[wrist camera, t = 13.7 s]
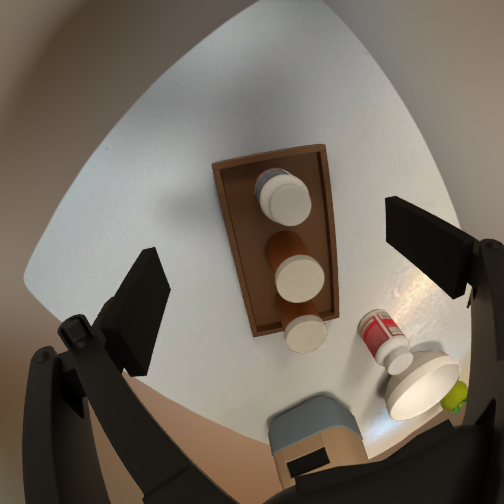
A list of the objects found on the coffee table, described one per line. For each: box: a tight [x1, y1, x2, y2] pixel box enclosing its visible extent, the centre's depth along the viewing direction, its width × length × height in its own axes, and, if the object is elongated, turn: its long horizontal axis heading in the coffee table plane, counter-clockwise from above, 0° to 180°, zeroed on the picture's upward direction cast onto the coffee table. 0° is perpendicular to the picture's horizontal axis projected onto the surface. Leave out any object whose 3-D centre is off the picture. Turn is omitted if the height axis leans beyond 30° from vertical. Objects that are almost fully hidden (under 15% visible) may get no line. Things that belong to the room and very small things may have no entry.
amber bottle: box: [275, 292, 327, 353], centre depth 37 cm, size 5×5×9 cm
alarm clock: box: [268, 396, 369, 490], centre depth 45 cm, size 17×17×23 cm
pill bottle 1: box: [254, 168, 311, 226], centre depth 30 cm, size 5×5×9 cm
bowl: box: [385, 350, 460, 421], centre depth 49 cm, size 19×19×9 cm
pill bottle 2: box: [359, 310, 413, 375], centre depth 40 cm, size 6×6×11 cm
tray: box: [212, 144, 339, 337], centre depth 37 cm, size 26×14×2 cm, turn 11°
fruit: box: [440, 380, 468, 414], centre depth 56 cm, size 9×9×10 cm
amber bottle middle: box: [266, 231, 324, 303], centre depth 33 cm, size 5×5×9 cm
